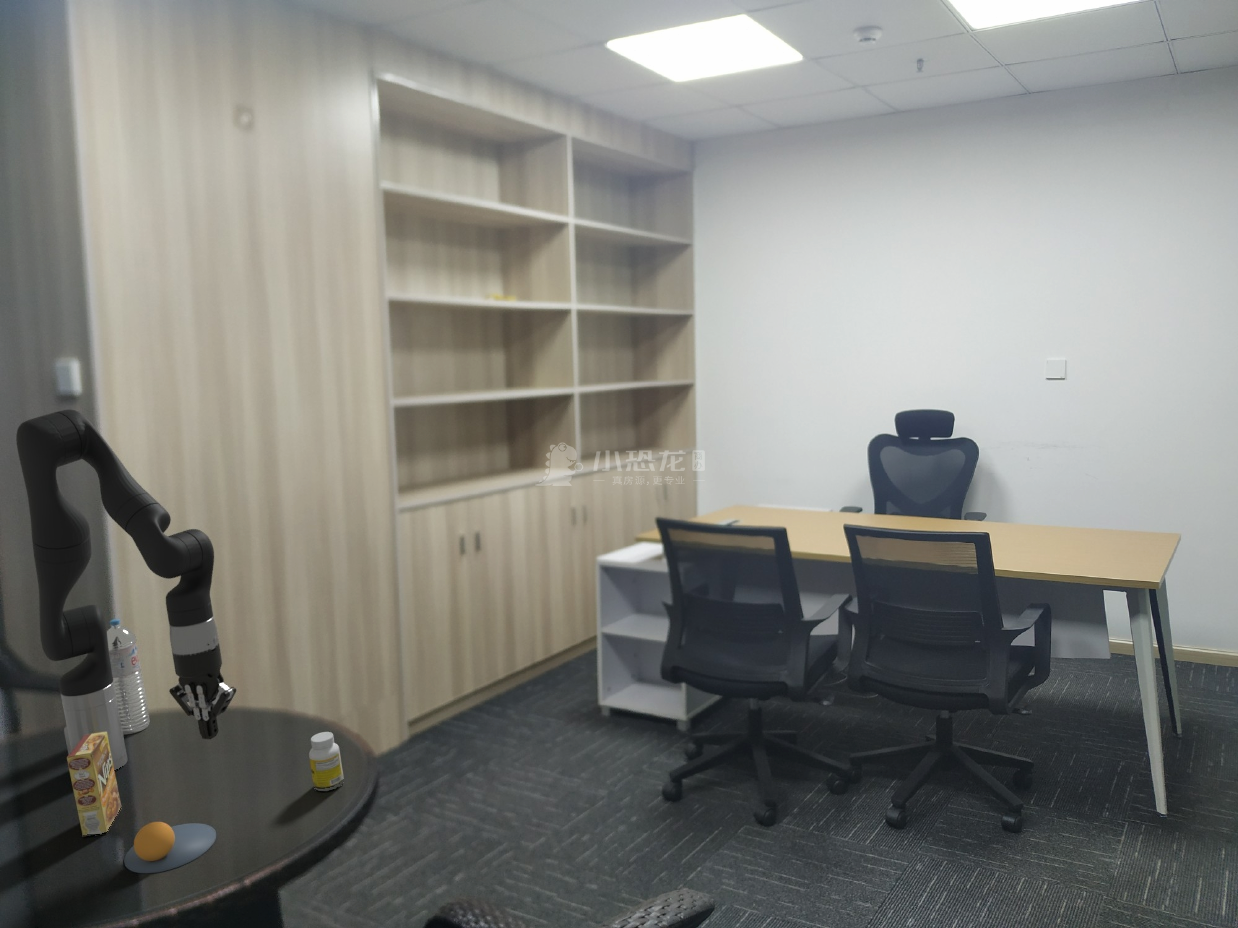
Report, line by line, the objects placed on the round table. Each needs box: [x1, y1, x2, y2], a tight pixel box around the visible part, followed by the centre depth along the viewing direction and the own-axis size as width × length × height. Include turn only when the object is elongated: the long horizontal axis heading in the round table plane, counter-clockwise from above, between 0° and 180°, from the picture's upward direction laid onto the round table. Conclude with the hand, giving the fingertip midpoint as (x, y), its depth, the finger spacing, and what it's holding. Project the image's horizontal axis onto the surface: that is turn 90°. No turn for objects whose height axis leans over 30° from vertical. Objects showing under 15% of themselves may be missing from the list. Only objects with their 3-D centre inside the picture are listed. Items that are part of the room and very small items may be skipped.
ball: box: [133, 821, 175, 861], centre depth 151 cm, size 6×6×6 cm
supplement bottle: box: [308, 731, 345, 789], centre depth 170 cm, size 5×5×10 cm
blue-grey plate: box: [123, 822, 217, 874], centre depth 154 cm, size 14×14×1 cm
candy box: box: [66, 732, 122, 836], centre depth 163 cm, size 9×4×15 cm, turn 13°
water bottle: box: [107, 618, 151, 736], centre depth 201 cm, size 7×7×25 cm
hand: (210, 737), depth 163 cm, fingers closed
